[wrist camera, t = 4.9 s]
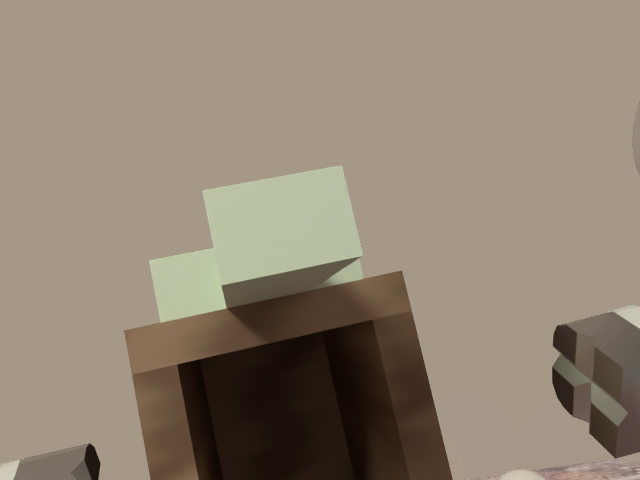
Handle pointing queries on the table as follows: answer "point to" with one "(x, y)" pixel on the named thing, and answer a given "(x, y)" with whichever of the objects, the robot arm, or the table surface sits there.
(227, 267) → the pale green stepped block
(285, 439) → the upright wooden block
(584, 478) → the table surface
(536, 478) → the lightbulb
